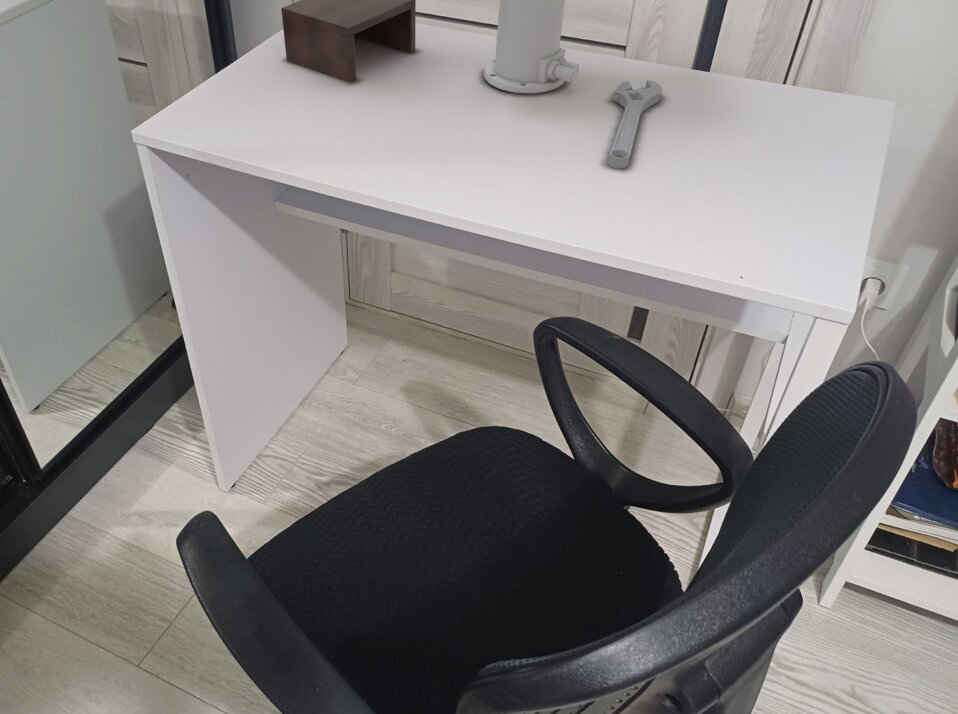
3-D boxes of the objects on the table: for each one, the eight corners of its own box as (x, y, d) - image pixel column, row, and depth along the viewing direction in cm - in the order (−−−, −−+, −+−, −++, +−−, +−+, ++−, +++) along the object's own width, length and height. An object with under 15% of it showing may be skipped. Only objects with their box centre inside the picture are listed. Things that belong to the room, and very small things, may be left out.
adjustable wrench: (627, 171, 106) (629, 158, 105) (578, 162, 108) (580, 149, 107) (662, 93, 122) (665, 81, 121) (619, 87, 124) (622, 75, 123)
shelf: (415, 50, 135) (415, -2, 129) (351, 82, 126) (348, 28, 120) (351, 31, 141) (349, -20, 135) (286, 60, 132) (281, 7, 127)
